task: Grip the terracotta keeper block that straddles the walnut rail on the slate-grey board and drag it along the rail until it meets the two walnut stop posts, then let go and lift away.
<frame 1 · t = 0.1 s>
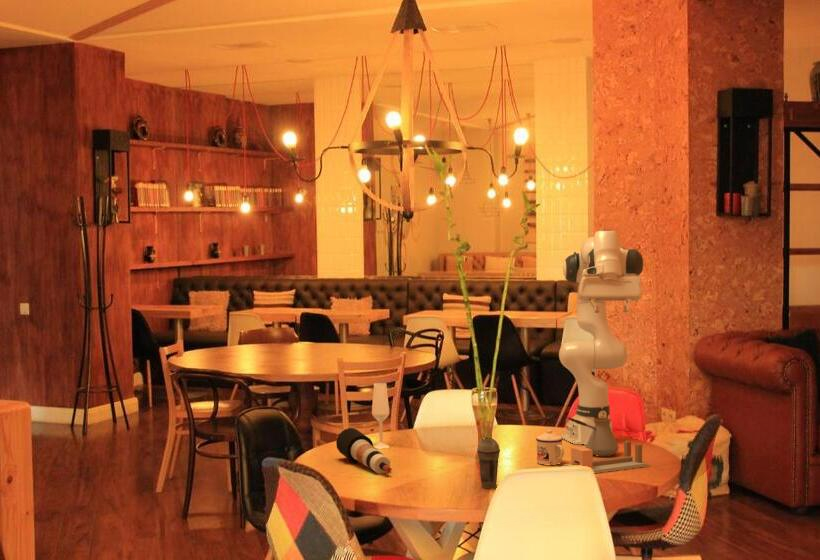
hand: (611, 311, 341), 54 cm above the table, tool tilted 30°, fingers open, 8 cm apart
cable: (368, 468, 362), on the table
champagne flute: (381, 447, 396), on the table
keeper: (581, 457, 352), point 4 cm above the table, slide at -9.5 cm
rail board: (605, 467, 356), on the table
beverage cup: (489, 487, 332), on the table
teacup with lid: (552, 464, 363), on the table
coffee pot: (591, 456, 374), on the table
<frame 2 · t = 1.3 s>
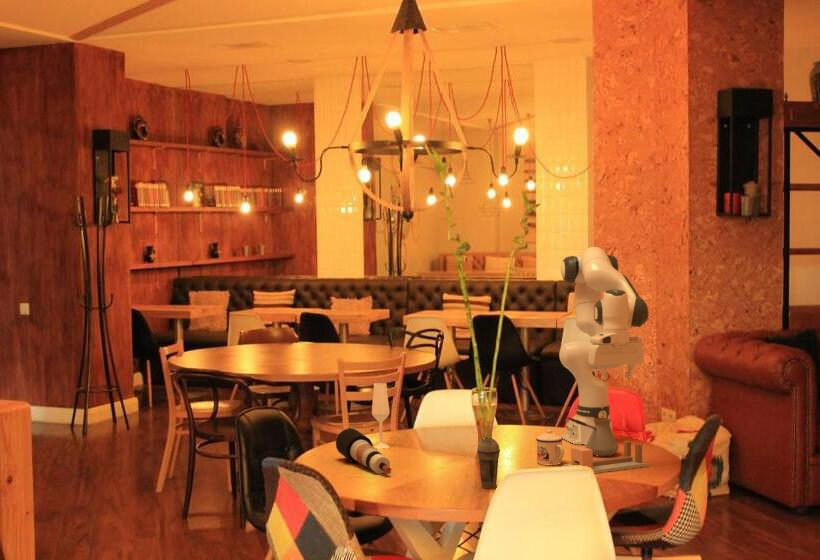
hand: (616, 378, 356), 30 cm above the table, tool pointing down, fingers open, 8 cm apart
nothing on the table moved.
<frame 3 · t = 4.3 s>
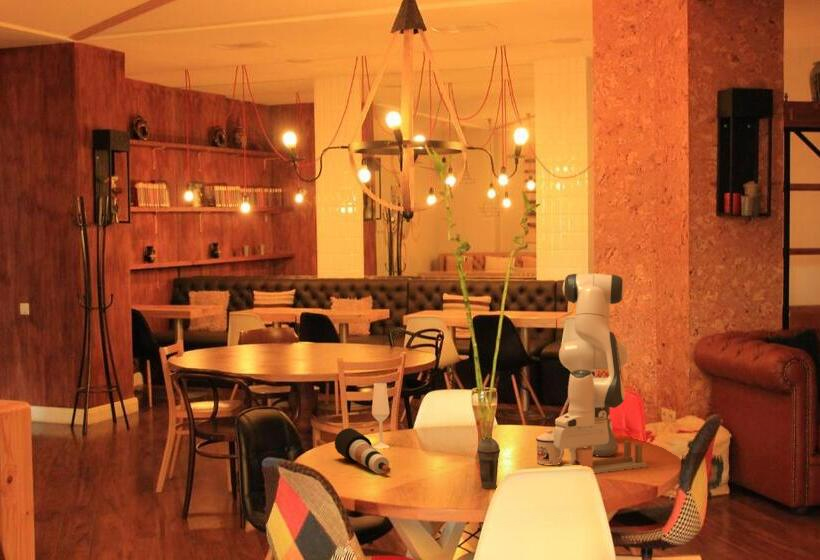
hand: (581, 459, 352), 4 cm above the table, tool pointing down, fingers closed on keeper, 4 cm apart
keeper: (581, 457, 352), point 4 cm above the table, slide at -9.5 cm, touching gripper
everything else where it was.
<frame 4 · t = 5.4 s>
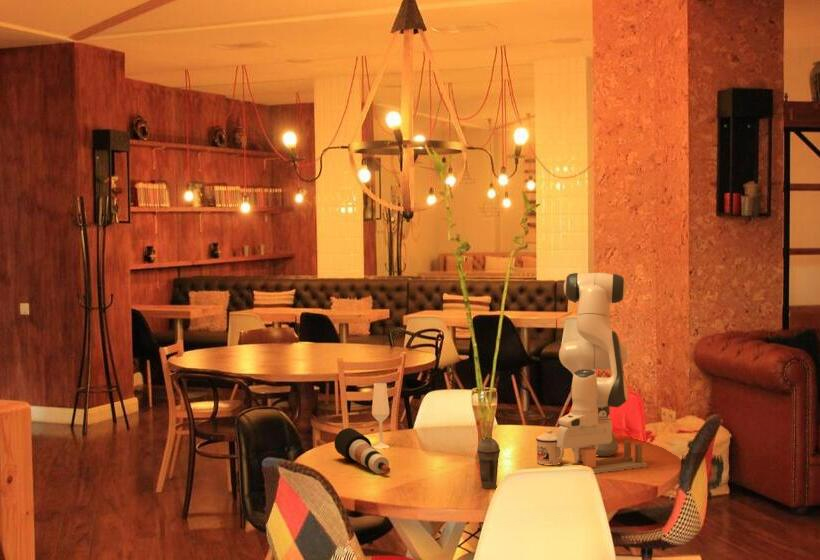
hand: (585, 459, 353), 4 cm above the table, tool pointing down, fingers closed on keeper, 4 cm apart
keeper: (585, 456, 353), point 4 cm above the table, slide at -8.1 cm, touching gripper
everything else where it was.
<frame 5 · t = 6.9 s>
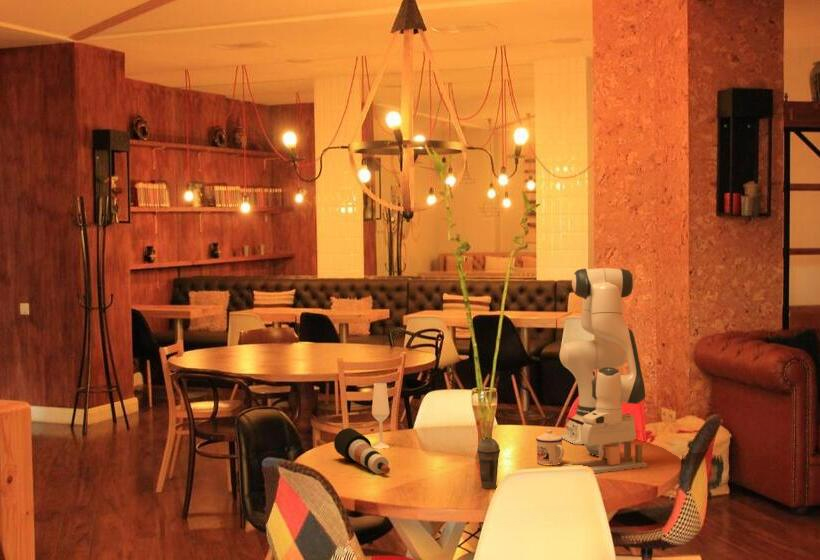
hand: (609, 456, 357), 4 cm above the table, tool pointing down, fingers closed on keeper, 4 cm apart
keeper: (609, 453, 357), point 4 cm above the table, slide at 1.7 cm, touching gripper
everything else where it was.
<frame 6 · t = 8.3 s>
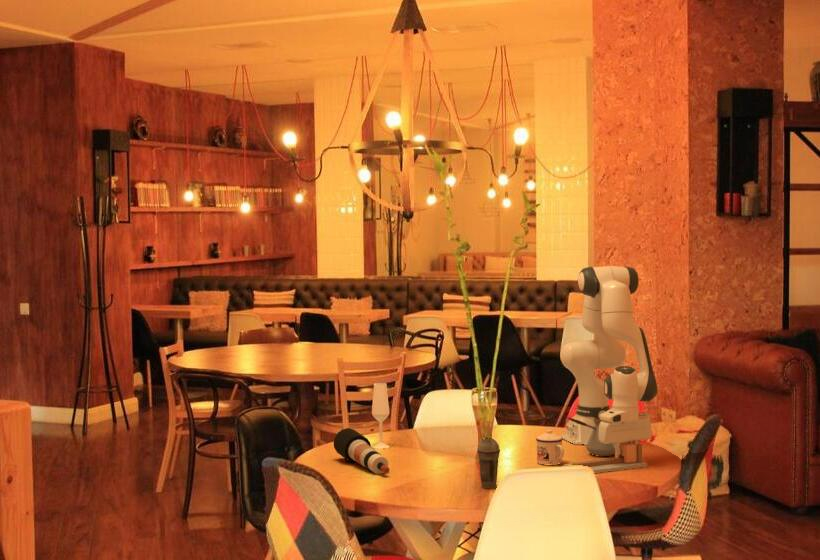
hand: (625, 454, 360), 4 cm above the table, tool pointing down, fingers closed on keeper, 4 cm apart
keeper: (625, 451, 360), point 4 cm above the table, slide at 8.6 cm, touching gripper
everything else where it was.
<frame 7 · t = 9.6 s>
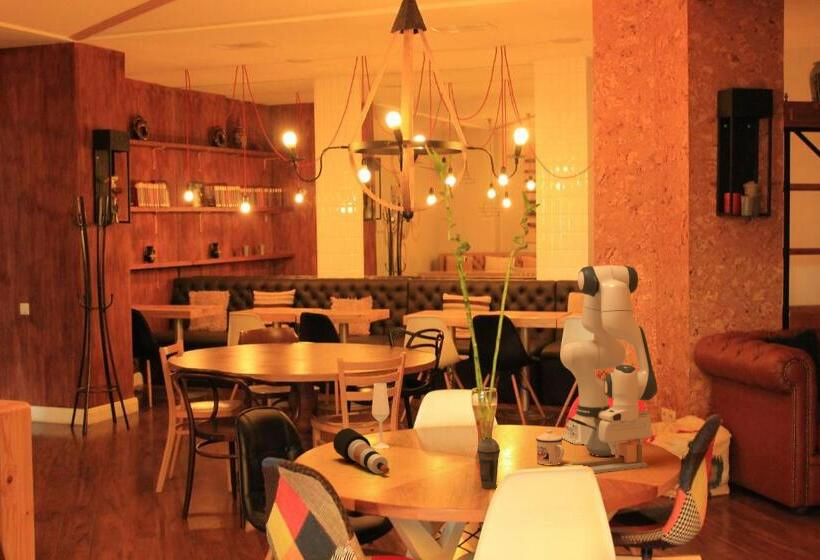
hand: (625, 452, 360), 4 cm above the table, tool pointing down, fingers open, 8 cm apart
keeper: (626, 451, 360), point 4 cm above the table, slide at 8.7 cm
everything else where it was.
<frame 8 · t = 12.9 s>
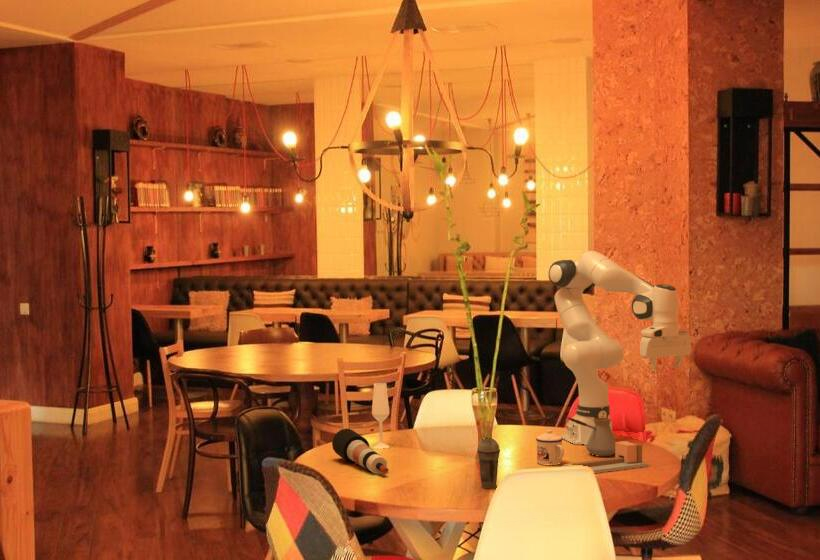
hand: (665, 369, 371), 31 cm above the table, tool pointing down, fingers open, 8 cm apart
at the end: keeper slide at 8.7 cm; the gripper is holding nothing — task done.
